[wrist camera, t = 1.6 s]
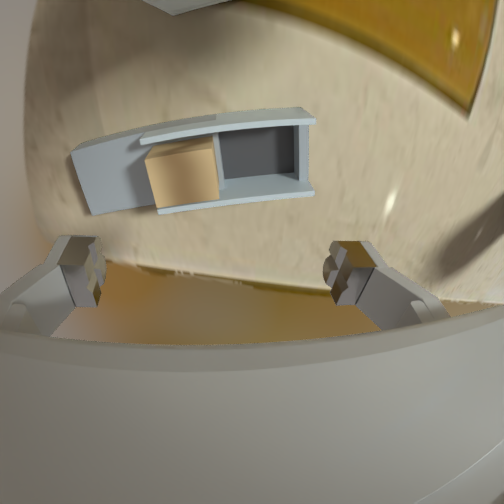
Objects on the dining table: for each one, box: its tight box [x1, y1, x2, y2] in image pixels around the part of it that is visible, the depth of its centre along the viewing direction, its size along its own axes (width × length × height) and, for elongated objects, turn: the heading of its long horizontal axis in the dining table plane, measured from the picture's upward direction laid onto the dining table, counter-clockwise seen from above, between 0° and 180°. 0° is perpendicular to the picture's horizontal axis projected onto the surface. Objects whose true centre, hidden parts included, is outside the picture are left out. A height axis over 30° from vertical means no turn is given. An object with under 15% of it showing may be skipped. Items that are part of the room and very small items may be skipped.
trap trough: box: [70, 107, 316, 216], centre depth 28 cm, size 25×8×6 cm, turn 94°
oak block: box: [145, 136, 219, 208], centre depth 26 cm, size 6×5×4 cm
